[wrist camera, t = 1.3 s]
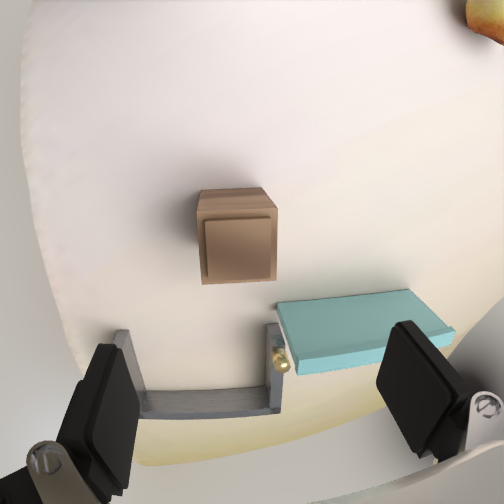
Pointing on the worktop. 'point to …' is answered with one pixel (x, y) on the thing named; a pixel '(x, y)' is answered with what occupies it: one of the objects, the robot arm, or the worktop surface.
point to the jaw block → (237, 236)
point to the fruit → (486, 18)
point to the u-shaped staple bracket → (212, 401)
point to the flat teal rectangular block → (353, 328)
